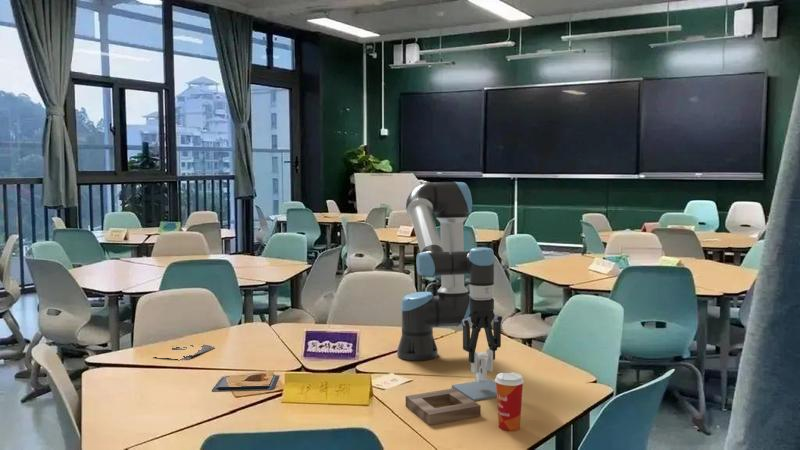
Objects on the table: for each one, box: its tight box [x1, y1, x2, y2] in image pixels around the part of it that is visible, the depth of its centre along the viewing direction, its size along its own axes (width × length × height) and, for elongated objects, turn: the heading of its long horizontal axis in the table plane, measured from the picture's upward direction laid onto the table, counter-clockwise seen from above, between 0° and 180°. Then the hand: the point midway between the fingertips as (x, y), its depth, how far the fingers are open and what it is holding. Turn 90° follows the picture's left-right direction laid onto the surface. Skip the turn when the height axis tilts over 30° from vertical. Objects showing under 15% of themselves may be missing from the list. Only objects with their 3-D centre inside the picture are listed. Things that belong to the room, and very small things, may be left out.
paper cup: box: [494, 371, 525, 432], centre depth 171 cm, size 8×8×14 cm
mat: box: [451, 378, 497, 402], centre depth 200 cm, size 14×14×1 cm
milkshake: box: [474, 351, 491, 383], centre depth 199 cm, size 5×5×10 cm
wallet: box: [211, 374, 281, 393], centre depth 210 cm, size 20×2×15 cm
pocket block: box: [405, 387, 482, 426], centre depth 183 cm, size 16×16×3 cm
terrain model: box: [172, 344, 216, 361], centre depth 248 cm, size 20×15×3 cm
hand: (482, 371), depth 199 cm, fingers closed on milkshake, 5 cm apart
